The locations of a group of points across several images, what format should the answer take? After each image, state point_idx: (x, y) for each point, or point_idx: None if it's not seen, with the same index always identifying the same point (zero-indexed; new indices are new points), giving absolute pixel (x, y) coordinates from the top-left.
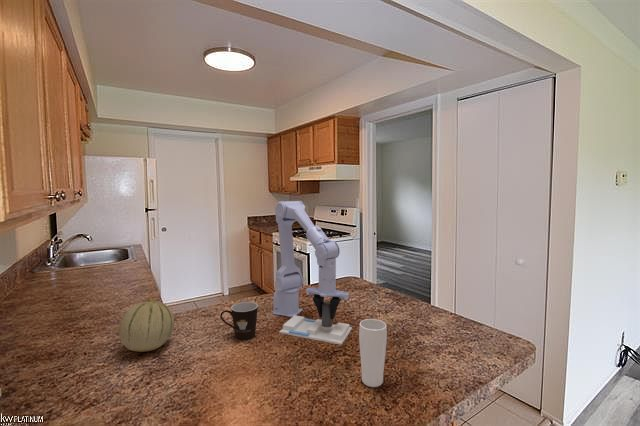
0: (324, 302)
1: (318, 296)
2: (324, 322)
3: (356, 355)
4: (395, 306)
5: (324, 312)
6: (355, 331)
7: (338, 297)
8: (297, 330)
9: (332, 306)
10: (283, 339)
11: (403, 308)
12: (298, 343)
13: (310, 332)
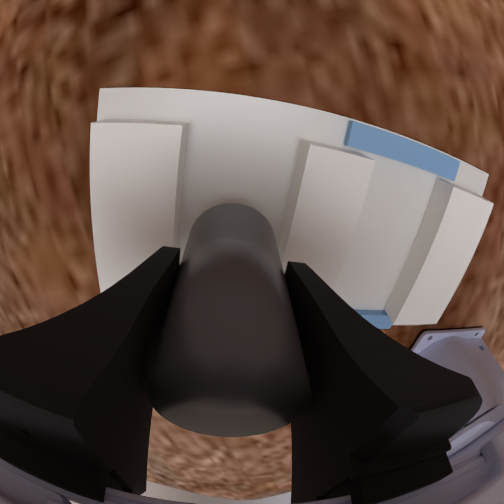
0: (275, 417)
1: (388, 475)
2: (245, 220)
3: (28, 29)
4: None
5: (249, 276)
6: (85, 272)
7: (5, 460)
8: (418, 195)
9: (94, 329)
10: (461, 101)
11: None
12: (384, 52)
13: (342, 149)
